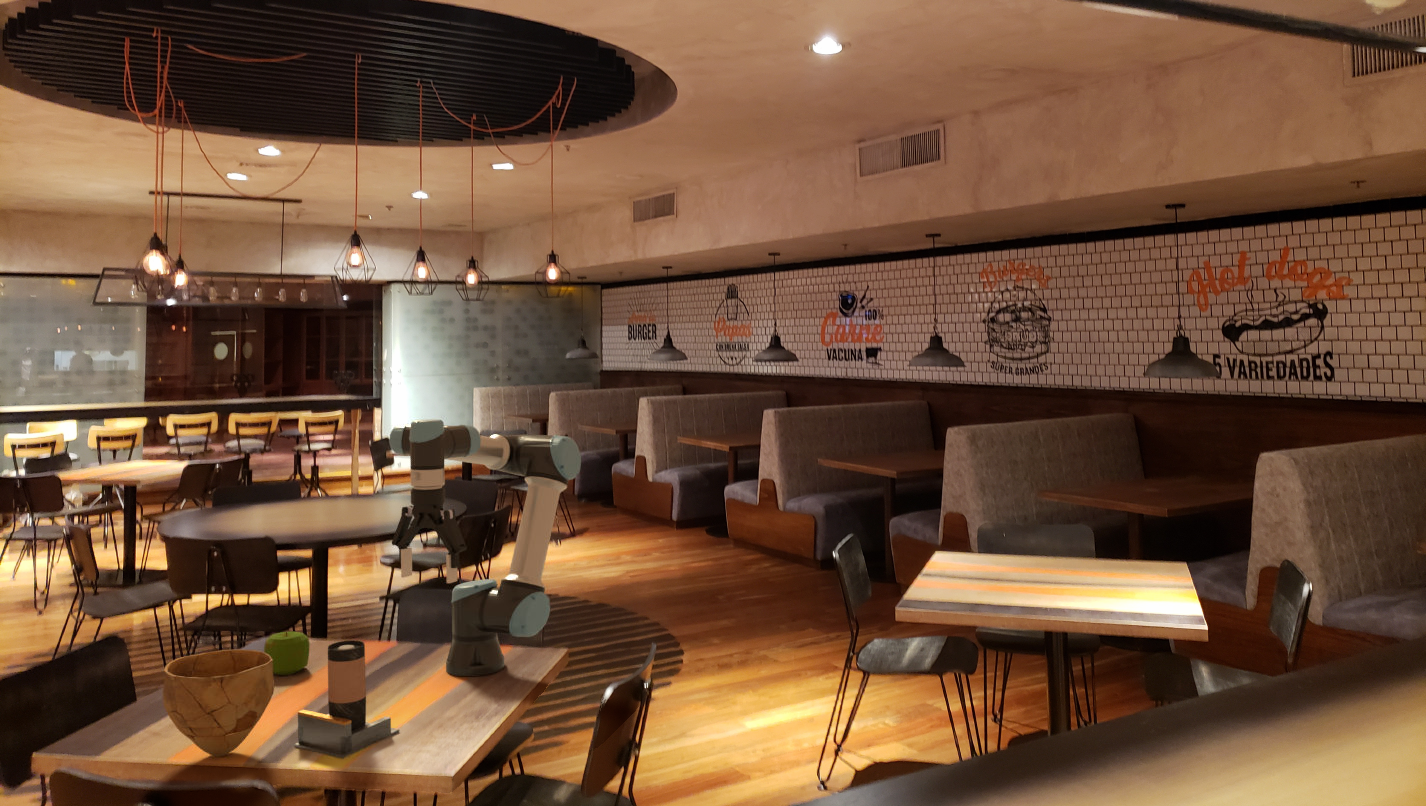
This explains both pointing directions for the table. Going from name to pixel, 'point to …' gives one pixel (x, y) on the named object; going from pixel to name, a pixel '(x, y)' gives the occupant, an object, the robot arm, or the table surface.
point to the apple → (287, 652)
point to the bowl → (218, 696)
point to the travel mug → (347, 682)
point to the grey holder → (339, 734)
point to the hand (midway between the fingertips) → (429, 579)
